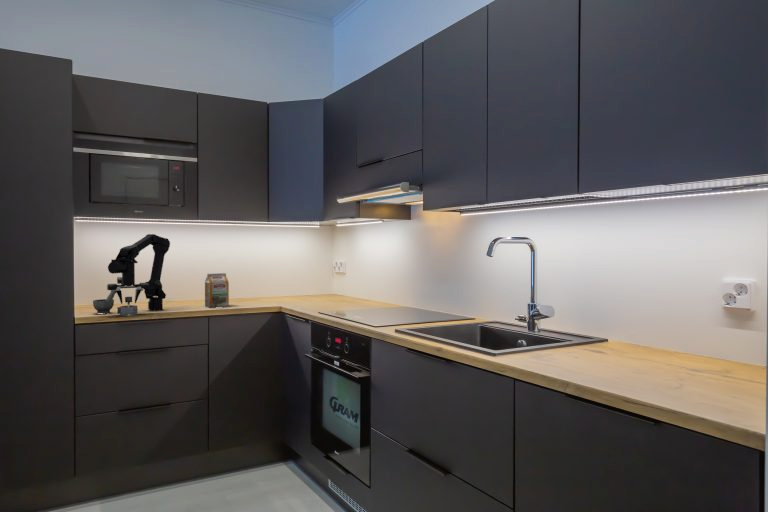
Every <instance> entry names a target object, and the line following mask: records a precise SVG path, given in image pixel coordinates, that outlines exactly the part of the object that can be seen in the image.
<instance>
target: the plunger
mask: <svg viewBox="0 0 768 512" xmlns="http://www.w3.org/2000/svg"><path fill="white" fill-rule="evenodd" d="M124 302H125V303H127V305H128V307H130V303H132V302H133V296H124Z"/></svg>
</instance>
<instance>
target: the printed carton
mask: <svg viewBox="0 0 768 512" xmlns="http://www.w3.org/2000/svg"><path fill="white" fill-rule="evenodd" d="M229 286H230V285H229V280H228V277H227V273H226V272H225V273H224V272H222V273H207V274H206V277H205V280H204V307H205V308H208V309H217V308H216V307H222V308H229V307H230V305H229V304H230V300H229V299H230V298H229V297H230V293H229V292H230V290H229Z"/></svg>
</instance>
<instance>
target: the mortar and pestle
mask: <svg viewBox="0 0 768 512" xmlns="http://www.w3.org/2000/svg"><path fill="white" fill-rule="evenodd" d="M116 294H117V292H114V291H113V290H110V293H109V294H108V296H107V297H106V298H102V299H101V298H100V299H94V300H93V299H92V305H93V308H94V309H95V310H96V314H97V313H110V314H111V310H112V309H113V307H114V305H115V304H114V303H115V299H114V297H115V295H116Z"/></svg>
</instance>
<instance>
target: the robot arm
mask: <svg viewBox="0 0 768 512" xmlns="http://www.w3.org/2000/svg"><path fill="white" fill-rule="evenodd" d="M148 246H152V250H153V253H154V256H153V261H152V266H151V273H150V278H149V280H148V281H145V282H139V283H137V284H136V279H135V271H136V269H135V268H136V267H135V264H138V261H137V260H136V258H137V257H138V256H139V254H140V252H141V251H142V250H144V249H146V248H147V247H148ZM170 246H171V242H170V239H168V238H166V237H162V236H159V235H157V234H155V233H149V234H145V236H144V237H142V238H141V239H139V240H137V241H136V242H134V243H133V244H130V245H126V246H124V247H122V248H120V249H119V252H118V254H117V256H116V257H115V259H111V262H109V264H108V266H107V270H108V272H109V273H110V274H121V276H117V277H116V282H117V283H108V284H107V286H106V290H107V291H111V290H113V291H114V292H116V295H118V296H117V297H118V298H119V302H120V304H121V305H123V295H122V290H121V289H135V293H134V294H135V295H134V304H136V303H137V301H138V299H139V297H140V294H141V292H142V291H144V292H143V293H144V296H145V298H146V299H148V301H147V310H148V311H150V310H155V311H164V307H163V305H164V304H163V300H165V299H166V298H167V297H166V296H167V294H166V293H165V292H164V290H163V284H162V282H161V277H162V272H163V267H164V260H165V256H166V254H167V253H168V251H169V250H170ZM146 299H145V300H146Z"/></svg>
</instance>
